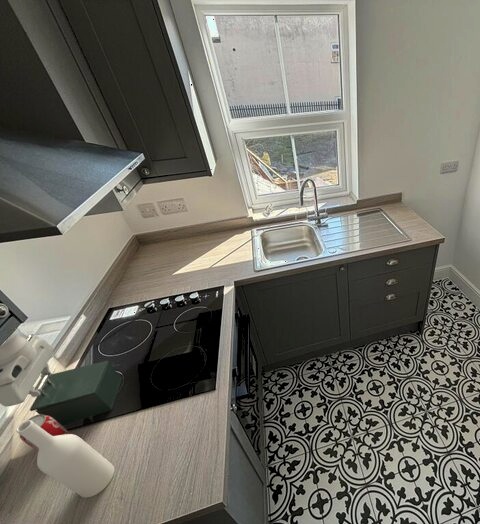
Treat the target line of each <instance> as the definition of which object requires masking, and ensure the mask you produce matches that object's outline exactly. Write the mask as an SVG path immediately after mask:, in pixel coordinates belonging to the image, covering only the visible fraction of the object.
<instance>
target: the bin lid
mask: <svg viewBox="0 0 480 524" xmlns="http://www.w3.org/2000/svg"><path fill="white" fill-rule="evenodd" d="M108 362H109V360H104V361H99V362H96V363H92V364H88V365H84V366H80V367H76V368H71V369H68V370H67V369H66V370H63V371H59V372H55V373H52V375H51V376H50V378H49V376H48V375H43V376H42V377H41V376H40V379H39V380H38V382H37V384H36V386H35V387H34V389H37V388H40V389H41V390H42V392H41V394H40V396H37V397H35V399H34V401H33V402H32V405H31V407H30V408H29V411H30V412H34V411H36V410H38V409H41V408H45V407H49V406H53V405H56V404H60V403H64V402H67V401H71V400H75V399H78V398H82V397H86V396H90V395H93V394H96V392H97V390H98V387H99V385H100V382H101V380H102V377H103V374H104V372H105V369H106V367H107V364H108Z"/></svg>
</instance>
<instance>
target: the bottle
mask: <svg viewBox="0 0 480 524" xmlns="http://www.w3.org/2000/svg"><path fill="white" fill-rule="evenodd" d="M27 420H28V419H27ZM27 420H25V421H23V422H21V423H20V424H19V425H18V426H17V427H16V433H17V434H18V435H19V434H20V435H22V436H23V437H25V438H26V439H27V440H29V441H30V442H32V443H33V444H34V445H36V446H37V447H38V448H39V451H37V457H36V465H37V468H38V469H39V470H40V471H41V472H43V473H44V474H45V475H47V476H48V477H51V478H52V479H53V480H55V481H56V482H58V483H59V484H61V485H63V486H64V487H66V488H67V489H69V490H70V491H72V492H74V493H75V494H77V495H79V496H80V497H81V498H91V497H94V496H96V495H99V493H101V492H102V491H104V490H105V488H106V487H108V486H109V484H110V482H111V481H112V479H113V477H114V475H115V467H114V465H113V464H112V463H111V462H110V461H109V460H107V459H106V457H104V456H103V455H101V454H100V453H99V452H98V451H97V450H95V448H93V447H92V446H90V445H89V443H87V442H86V440H85V441H84V439H82V438H81V437H79V436H78V435H76V434H74V433H70V434H66V435H58V436H52V435H50V434H49V433H47V432H46V431H45V430H43V429H42V428H41V427H39V426H38V425H37V424H35V423H34V422H33V421H31V420H28V421H27ZM20 435H19V436H20Z"/></svg>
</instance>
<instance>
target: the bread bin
mask: <svg viewBox="0 0 480 524" xmlns="http://www.w3.org/2000/svg"><path fill="white" fill-rule="evenodd" d="M122 380H123V377H121V375H120V374H119V373H118V372H117V370H115V368H114V366H112V364H111V363H110V362H109V361H108V364H107V367H106V369H105V372H104V374H103V377H102V380H101V382H100V385H99V387H98V390H97V392H96V394H93V395H90V396H86V397H82V398H78V399H75V400H71V401H67V402H64V403H60V404H56V405H53V406H49V407H45V408H41V409H38V410H35V412H36V413H37V415H45V416H50V417H52V418H53V419H55V420H56V421H57V422H58V423H60V424H61V425H62V426H63V427H64V426H66V425H69V424H72V423H76V422H78V421H83V420H85V419H89V418H91V417H95V416H98V415H102V414H105V413H108V412H112V411H113V408H114V405H115V402H116V399H117V396H118V393H119V390H120V387H121V384H122Z"/></svg>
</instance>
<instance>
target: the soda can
mask: <svg viewBox="0 0 480 524" xmlns="http://www.w3.org/2000/svg"><path fill="white" fill-rule="evenodd" d="M28 420H31V421H33V422H34V423H35V424H37V425H38V426H39V427H41V428H42V429H43V430H45V431H46V432H47V433H49V434H50V435H52V436H58V435H66V434H71V432H70V431H69V430H68V429H67V428H66V427H65V426H64V425H63V426H62V425H61V424H60V423H58V422H57V421H56V420H55V419H53V418H52V417H50V416H45V415H40V414H36V415H34V416H31V417H29V418H28V419H27V420H26V421H28ZM18 435H19V439H20V440H21V441H22V442H23V443H25V444H26V445H28V446H29V447H30V448H32V449H33V450H35V451H36V452H38V451H39V448H38V447H37V446H36V445H34V444H33V443H32V442H30V441H29V440H27V439H26V438H25V437H23V436H22V435H20V434H19V433H18Z"/></svg>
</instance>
